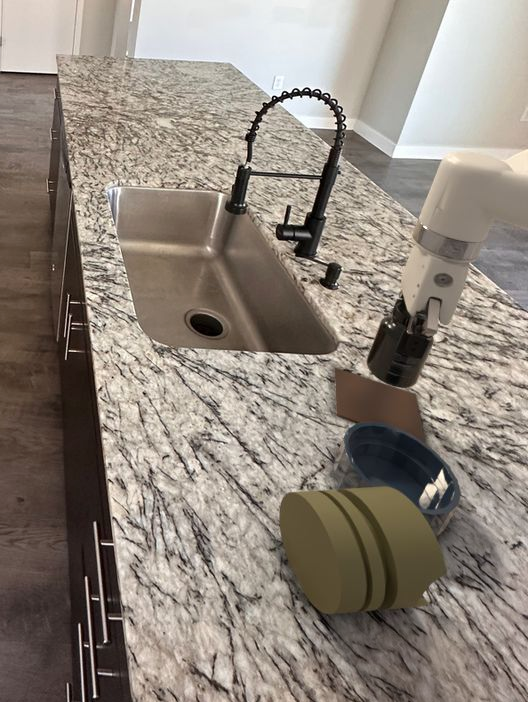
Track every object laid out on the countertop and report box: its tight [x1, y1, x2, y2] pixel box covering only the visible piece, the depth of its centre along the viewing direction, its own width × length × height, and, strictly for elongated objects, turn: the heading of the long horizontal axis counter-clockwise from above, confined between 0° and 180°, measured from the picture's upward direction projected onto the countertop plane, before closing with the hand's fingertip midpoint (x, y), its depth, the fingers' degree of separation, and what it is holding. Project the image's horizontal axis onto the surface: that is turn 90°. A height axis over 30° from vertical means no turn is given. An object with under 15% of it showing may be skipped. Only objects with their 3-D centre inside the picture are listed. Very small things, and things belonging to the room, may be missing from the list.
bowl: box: [333, 422, 462, 538], centre depth 73 cm, size 13×13×6 cm
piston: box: [278, 486, 448, 615], centre depth 62 cm, size 11×12×11 cm
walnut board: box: [333, 367, 427, 445], centre depth 88 cm, size 12×11×1 cm
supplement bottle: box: [366, 302, 435, 389], centre depth 82 cm, size 7×7×12 cm
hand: (404, 337), depth 82 cm, fingers closed on supplement bottle, 6 cm apart
